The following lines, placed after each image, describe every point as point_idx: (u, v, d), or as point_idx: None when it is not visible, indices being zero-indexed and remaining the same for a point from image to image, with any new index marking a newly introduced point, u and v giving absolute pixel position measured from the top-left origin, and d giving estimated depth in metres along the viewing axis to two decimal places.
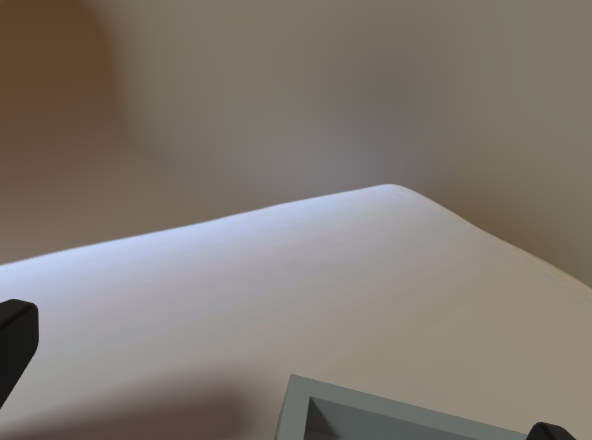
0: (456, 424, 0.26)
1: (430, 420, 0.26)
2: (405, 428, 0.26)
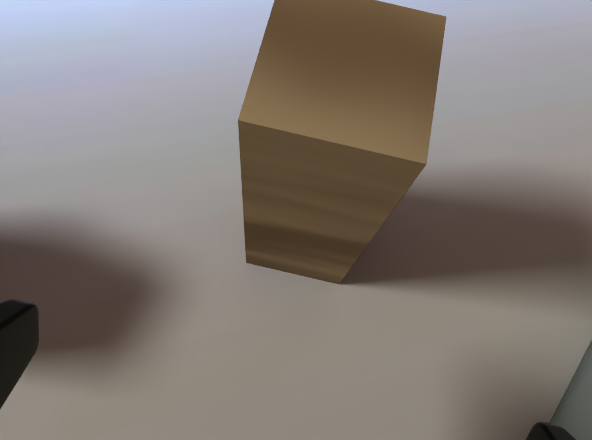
0: None
1: None
2: None
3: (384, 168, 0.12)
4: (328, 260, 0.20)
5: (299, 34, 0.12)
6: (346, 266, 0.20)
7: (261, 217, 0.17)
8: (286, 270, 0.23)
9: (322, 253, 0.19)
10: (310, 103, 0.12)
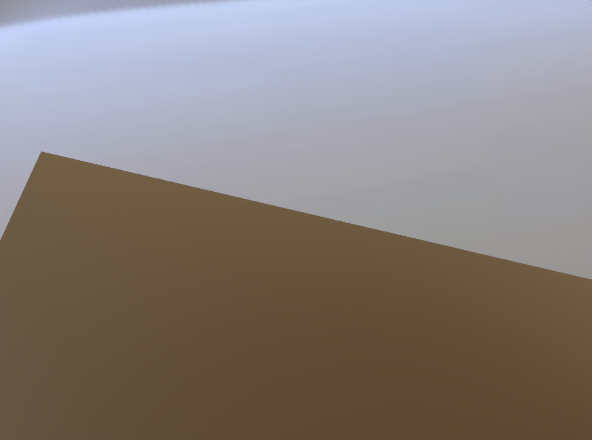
0: None
1: None
2: None
3: None
4: None
5: (73, 430, 0.03)
6: None
7: None
8: None
9: None
10: None
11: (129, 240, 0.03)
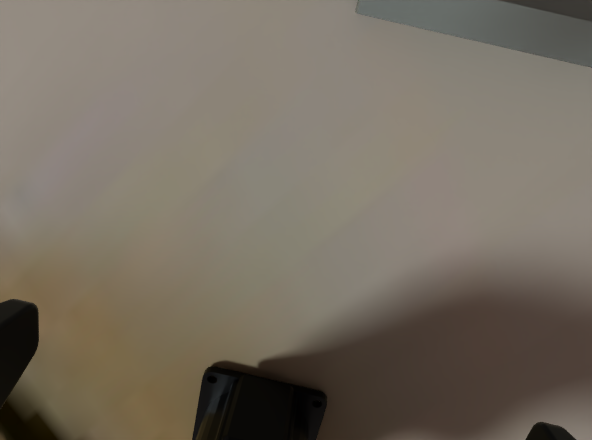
0: None
1: None
2: None
3: None
4: None
5: None
6: None
7: None
8: None
9: None
10: None
11: None
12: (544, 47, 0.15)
